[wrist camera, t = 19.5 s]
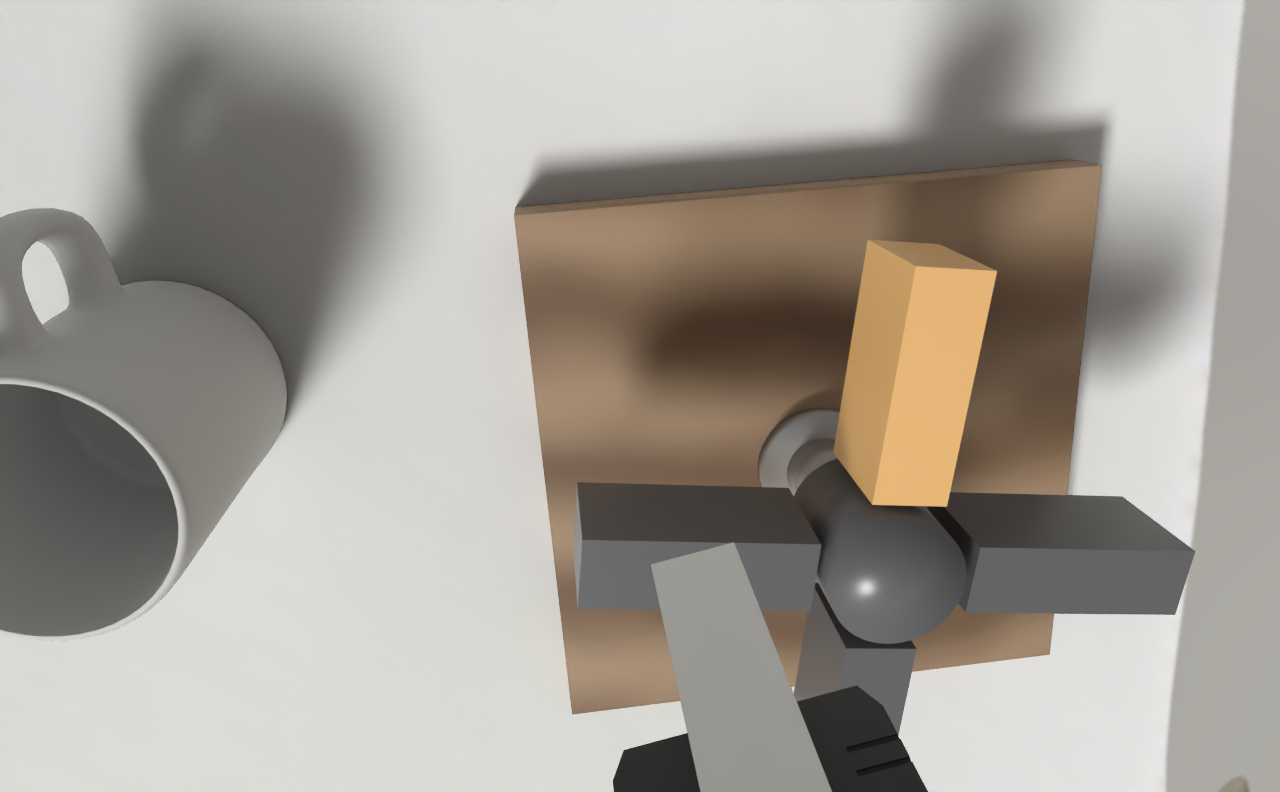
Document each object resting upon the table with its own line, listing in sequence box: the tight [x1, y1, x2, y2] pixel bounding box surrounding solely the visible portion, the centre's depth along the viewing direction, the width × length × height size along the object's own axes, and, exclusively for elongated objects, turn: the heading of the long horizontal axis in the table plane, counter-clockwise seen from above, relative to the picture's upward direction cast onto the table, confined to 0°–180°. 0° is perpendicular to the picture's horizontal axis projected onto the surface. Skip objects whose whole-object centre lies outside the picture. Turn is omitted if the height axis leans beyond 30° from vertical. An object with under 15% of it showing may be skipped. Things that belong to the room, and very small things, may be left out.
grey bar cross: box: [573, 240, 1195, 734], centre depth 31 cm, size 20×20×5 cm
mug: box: [0, 208, 287, 641], centre depth 30 cm, size 12×8×11 cm
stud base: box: [514, 160, 1102, 714], centre depth 36 cm, size 22×22×6 cm
